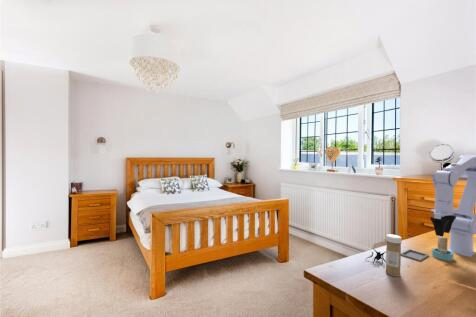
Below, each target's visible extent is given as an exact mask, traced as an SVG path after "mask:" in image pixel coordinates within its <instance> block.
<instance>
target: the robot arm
mask: <svg viewBox="0 0 476 317" xmlns="http://www.w3.org/2000/svg"><path fill="white" fill-rule="evenodd" d="M462 176H465V177H467V180H466V182H465V185H464V188H463V192H462V195H461V198H460V201H459V203H458V205H457V206H458V207H457V208H455V209H454V195H455V194H454V192H455V191H454V190H455V188H454V187H455V186H457V183H458V181H459V180H460V178H461V177H462ZM431 179H432V180H431V181H432V183H433V188H434V209H430V211H431V212H432V213H433V215H434V216H430V217H429V220H430V221H431V223H432V224H433V229H434V233H435V235H436V236H437V237H439V236H441V237H444V234H445V233H446V234H449V248H447V250H449V251H451V252H453V253H454V254H457V255H461V256H464V257H469V258H471V257H472V256H474V255H475V254H476V251H475V250H474V241H475V240H474V236H473V235H475V234H476V213H475V212H474V210H475V207H476V154H465V153H463V154H461V155H460V156H459V158H458V161H457V163H456V162H452V163H450V164H449V165H448V166H446V167H445V168H443V169H442V170H436V171H434V172H433V174H432V177H431Z"/></svg>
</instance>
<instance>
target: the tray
mask: <svg viewBox="0 0 476 317" xmlns="http://www.w3.org/2000/svg"><path fill="white" fill-rule="evenodd" d="M429 255H430V254H429V253H424V252H421V251H417V250H413V249H410V248H408V249H407V250H404V251H403V252H401V257H404V258H408V259H410V260H414V261H417V262H422V261H424V260H425V259H427V258H428V257H430V256H429Z"/></svg>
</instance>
